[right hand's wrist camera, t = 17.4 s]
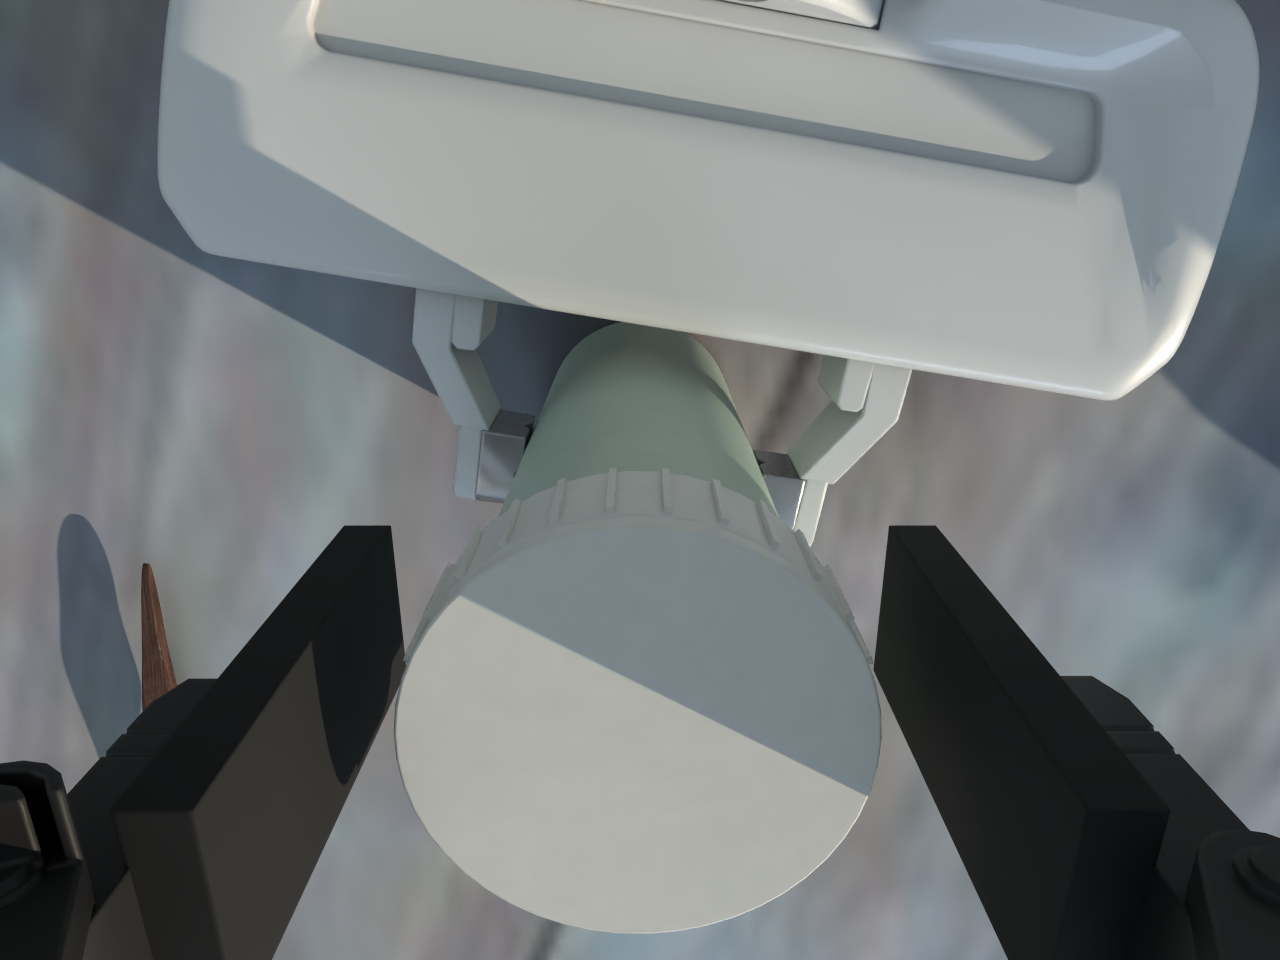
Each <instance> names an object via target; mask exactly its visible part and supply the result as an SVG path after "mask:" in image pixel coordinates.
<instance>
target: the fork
mask: <svg viewBox="0 0 1280 960" xmlns="http://www.w3.org/2000/svg"><path fill="white" fill-rule="evenodd" d="M141 608H142V709H143V711H144V710H145V709H146V708H147V707H148V706H149V704H150V703H151V702H153V701H154V700H156V699H157V698H159V697H160V696H162V695H164V694H165V693H167V692H168V691H170V690H172V689H173V688H175V687H176V686H177V684H176V680H175V676H174V672H173V667H172V663H171V659H170V655H169V650H168V645H167V640H166V635H165V630H164V624H163V619H162V614H161V608H160V603H159V598H158V593H157V589H156V584H155V580H154V576H153V572H152V569H151V566H150V564H145V563H144V564H143V568H142V586H141Z"/></svg>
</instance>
